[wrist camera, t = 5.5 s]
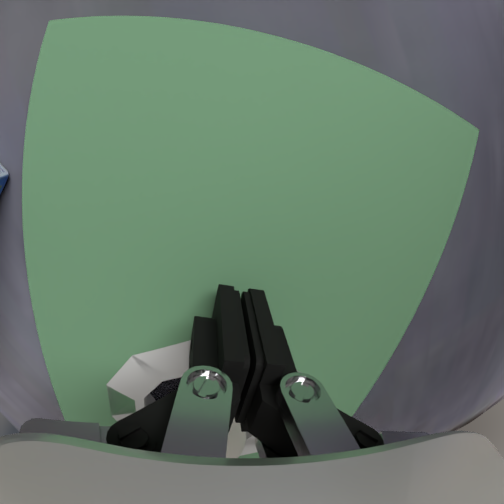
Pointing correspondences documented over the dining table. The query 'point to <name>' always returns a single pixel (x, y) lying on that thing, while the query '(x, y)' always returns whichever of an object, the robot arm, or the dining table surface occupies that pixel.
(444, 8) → the dining table surface
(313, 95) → the cutting board
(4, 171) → the medicine box
